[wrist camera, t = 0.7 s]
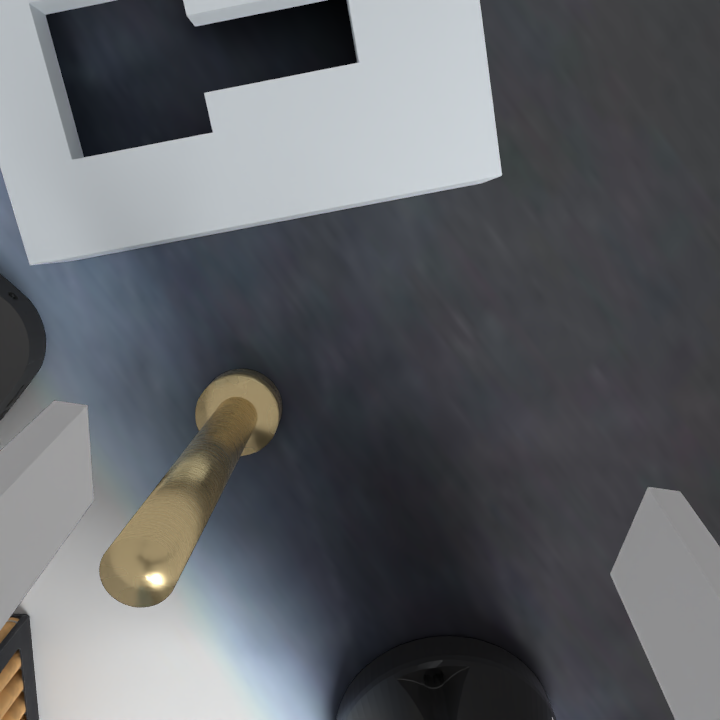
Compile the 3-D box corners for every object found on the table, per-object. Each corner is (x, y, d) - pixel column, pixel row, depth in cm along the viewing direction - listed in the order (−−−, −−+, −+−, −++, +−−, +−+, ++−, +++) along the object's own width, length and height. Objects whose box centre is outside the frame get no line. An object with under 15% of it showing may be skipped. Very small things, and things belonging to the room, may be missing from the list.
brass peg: (255, 458, 37) (165, 666, 19) (188, 416, 36) (32, 591, 18) (297, 396, 36) (244, 554, 18) (230, 353, 35) (108, 473, 18)
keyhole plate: (71, 261, 34) (29, 265, 29) (-16, -45, 31) (-78, -92, 26) (482, 183, 33) (501, 175, 29) (438, -139, 30) (453, -203, 26)
